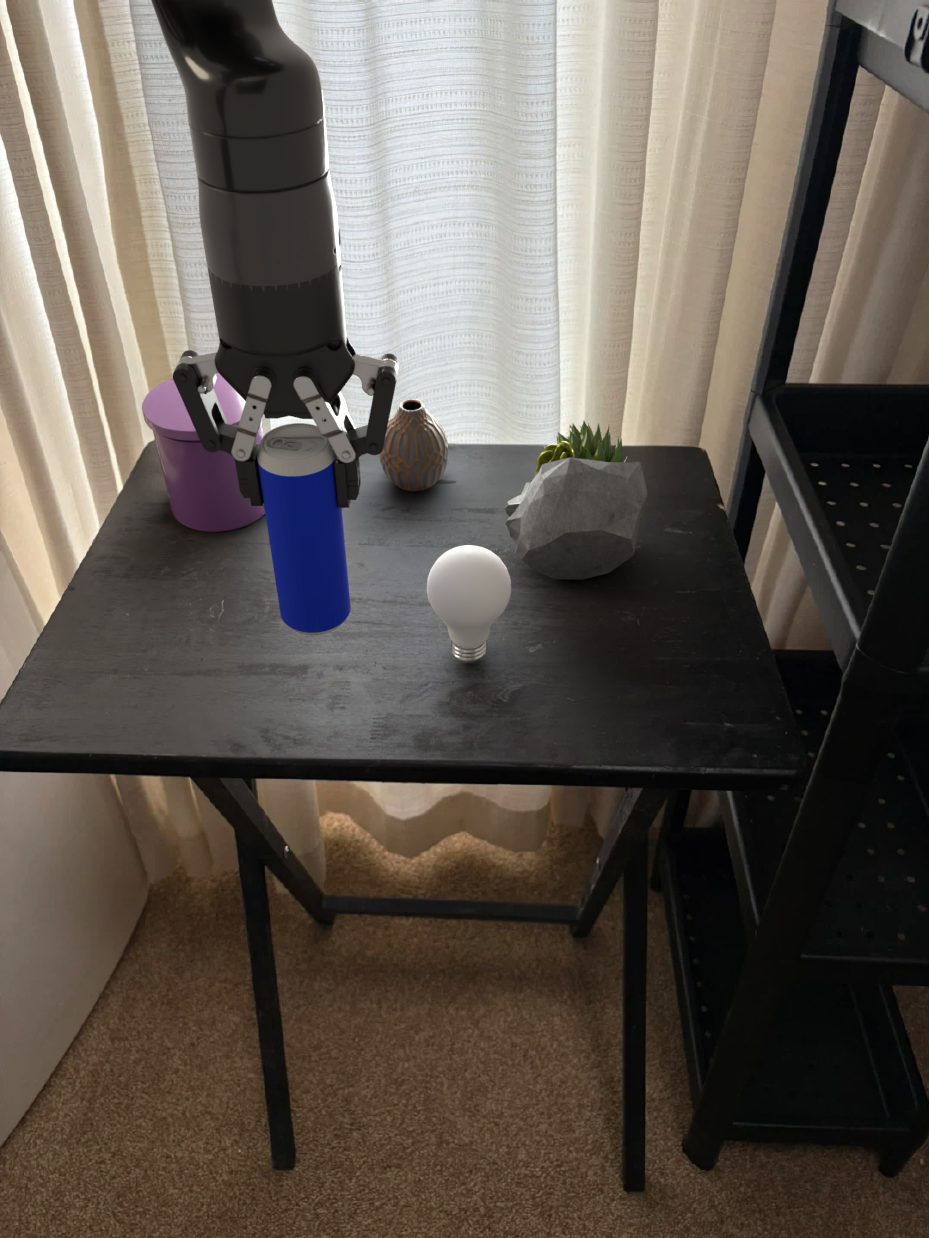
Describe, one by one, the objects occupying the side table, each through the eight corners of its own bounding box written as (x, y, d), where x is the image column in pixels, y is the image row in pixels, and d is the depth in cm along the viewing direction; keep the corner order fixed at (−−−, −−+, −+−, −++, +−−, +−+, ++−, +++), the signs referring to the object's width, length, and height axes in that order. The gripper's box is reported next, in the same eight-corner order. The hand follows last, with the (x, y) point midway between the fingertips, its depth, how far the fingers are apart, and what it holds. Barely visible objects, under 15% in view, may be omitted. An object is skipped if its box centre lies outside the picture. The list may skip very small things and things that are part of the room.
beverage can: (356, 595, 78) (342, 422, 68) (344, 641, 74) (327, 465, 64) (289, 591, 79) (265, 418, 69) (274, 636, 75) (246, 461, 65)
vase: (462, 479, 106) (462, 404, 100) (414, 508, 102) (411, 431, 96) (415, 454, 109) (412, 380, 103) (367, 481, 106) (361, 406, 100)
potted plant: (482, 567, 90) (475, 438, 98) (583, 617, 97) (569, 492, 105) (584, 499, 82) (568, 365, 90) (685, 558, 89) (662, 429, 98)
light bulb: (473, 620, 90) (473, 517, 82) (525, 660, 86) (530, 557, 78) (413, 654, 86) (407, 551, 79) (464, 698, 83) (463, 593, 75)
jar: (154, 534, 99) (127, 431, 91) (180, 470, 107) (157, 370, 100) (268, 535, 99) (251, 431, 91) (285, 471, 107) (271, 371, 99)
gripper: (129, 279, 56) (184, 532, 67) (395, 282, 55) (405, 535, 67) (162, 226, 61) (208, 468, 73) (404, 229, 61) (412, 471, 72)
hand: (302, 499), depth 70 cm, fingers closed on beverage can, 5 cm apart
